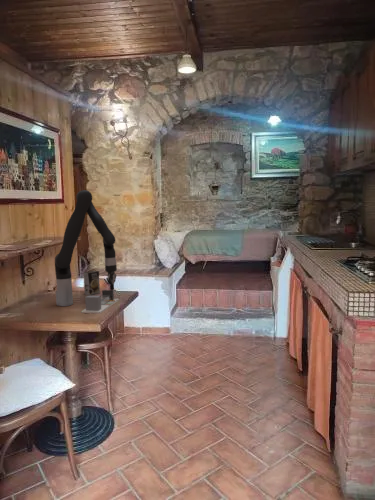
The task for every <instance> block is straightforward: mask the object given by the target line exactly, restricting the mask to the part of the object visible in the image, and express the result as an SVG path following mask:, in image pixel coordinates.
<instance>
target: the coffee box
mask: <svg viewBox="0 0 375 500" xmlns="http://www.w3.org/2000/svg"><path fill="white" fill-rule="evenodd" d="M83 283H84V284H83V287H84V295H86V296H95V295H97V294H100V293H101V289H100V288H101V287H100V286H101V285H100V271H98V270H89V271H84V272H83Z"/></svg>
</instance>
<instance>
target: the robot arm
mask: <svg viewBox="0 0 375 500" xmlns="http://www.w3.org/2000/svg"><path fill="white" fill-rule="evenodd" d="M75 199H76V204H75V206H74V207H75V208H74V210H73V211H72V213H71V216H70V218H69V219H68V221H67V224H66V227H65V230H64V235H63V241H62V244H61V245H62V246H61V249H60V250H59V252H58V253H57V254H56V255H55V257H54V268H55V269H54V270H55V281H56V283H55V284H56V290H55V300H56V301H55V302H56V306H58V307H68V306H72V305H73V304H74V299H73V297H74V296H73V283H72V271H71V263H72V259H73V258H72V257H73V254H74V250H75V247H76V246H77V242H78V240H79V238H80V235H81V232H82V230H83V229H82V228H83V225H84V223H85V218H86V214H87V215H88V217H89V218H90V220H91V222H92V224H93V226H94V227H95V229H96V230H97V232H98V234H100V236H101V237H102V244H103V250H104V269H105V272H106V273H107V277H106V278H105V280H106V281H107V284H109V288H110V289H109V290H113V291H114V290H115V282H116V279H117V274H116V272H117V270H118V268H117V266H118V265H117V259H116V257H117V256H116V250H115V248H114V247H115V243H116V237H115V235H114V234H113V232H112V231H111V230H110V228H109V227H108V225H107V223H106V222H105V220H104V218H103V217H102V215H101V214H100V212H99V211H98V210H97V209H96V207H95V205H94V203H93V201H92V200H93V195H92V193H91V192H90V191H89V190H87V189H84V190H83V189H82V190H80V191H78V192H77V193H76V195H75Z"/></svg>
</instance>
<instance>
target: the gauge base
mask: <svg viewBox="0 0 375 500" xmlns="http://www.w3.org/2000/svg"><path fill="white" fill-rule="evenodd" d="M101 297H102V295H86V296H85V297H84V301H85V308H84V309H82V310H81V311H80V312H81V314H102V313H103V312H105V311H106V310H107V309H109V308H110V307H112V306H113V305H114V304H116V303H117V302H119V301H120V299H119V298H114V299H113V300H115V301H108V302H107V303H105V304H101Z"/></svg>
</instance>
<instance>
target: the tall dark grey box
mask: <svg viewBox="0 0 375 500" xmlns="http://www.w3.org/2000/svg"><path fill="white" fill-rule="evenodd" d="M114 293H115V292H114V289H113V290H110V289H103V290H101V304H105V303H107V302H108V301H115V300H113V299H115V297H114V295H115V294H114Z"/></svg>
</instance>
